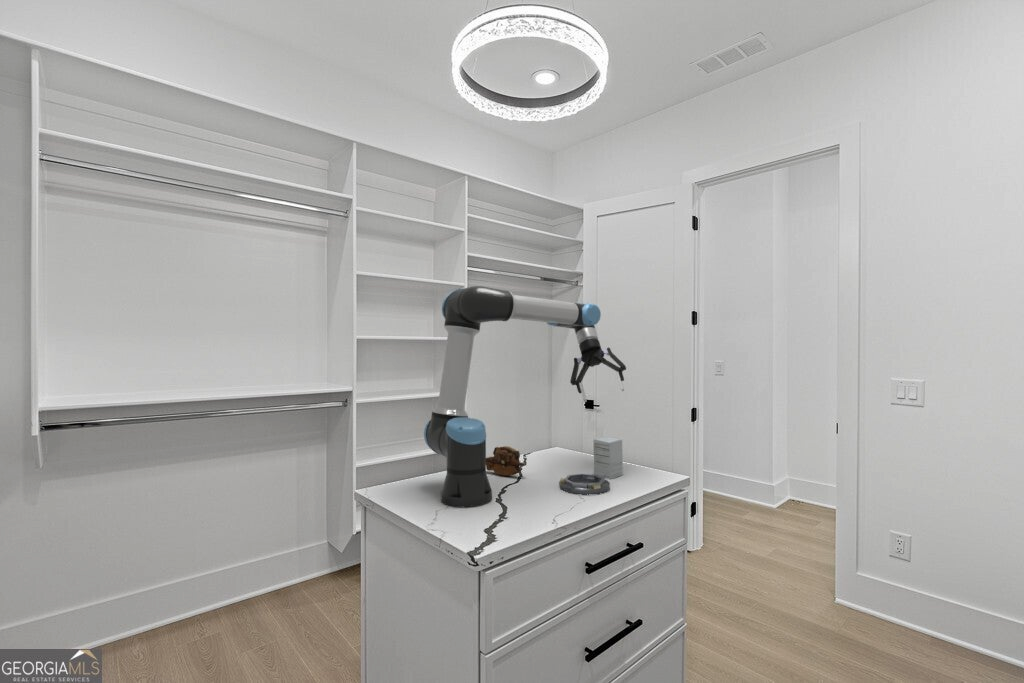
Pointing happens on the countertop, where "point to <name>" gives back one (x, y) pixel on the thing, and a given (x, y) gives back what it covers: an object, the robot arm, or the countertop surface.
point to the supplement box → (608, 457)
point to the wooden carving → (504, 461)
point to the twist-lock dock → (584, 484)
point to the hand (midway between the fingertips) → (603, 395)
